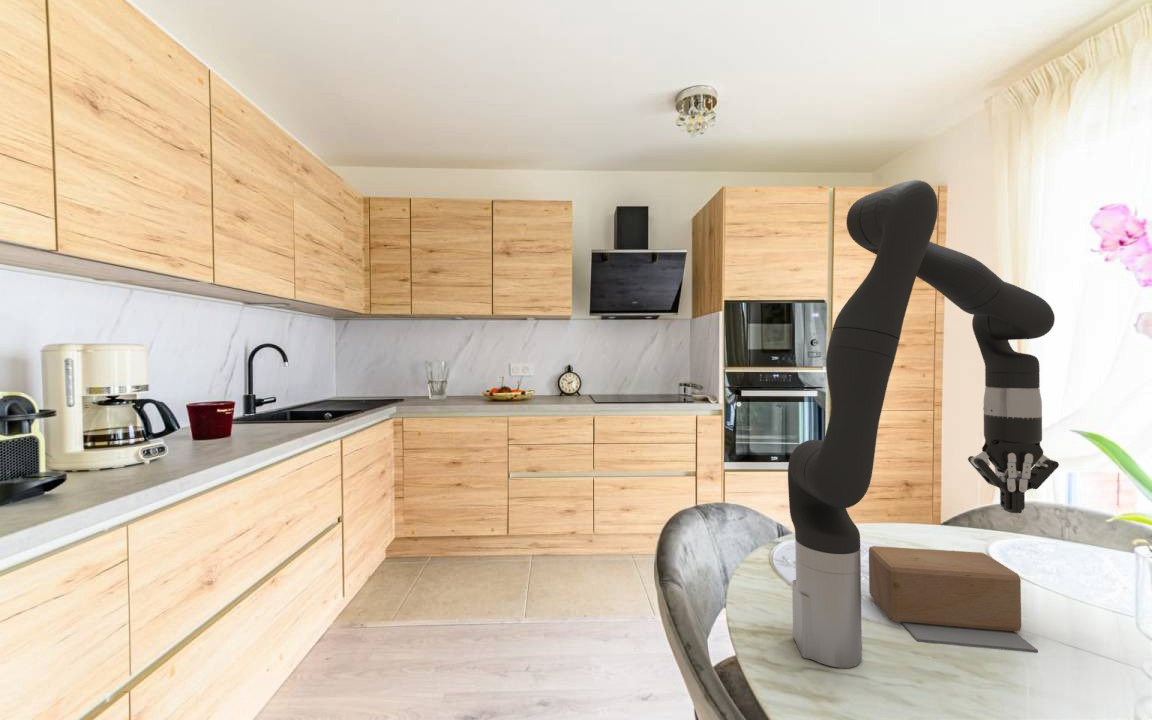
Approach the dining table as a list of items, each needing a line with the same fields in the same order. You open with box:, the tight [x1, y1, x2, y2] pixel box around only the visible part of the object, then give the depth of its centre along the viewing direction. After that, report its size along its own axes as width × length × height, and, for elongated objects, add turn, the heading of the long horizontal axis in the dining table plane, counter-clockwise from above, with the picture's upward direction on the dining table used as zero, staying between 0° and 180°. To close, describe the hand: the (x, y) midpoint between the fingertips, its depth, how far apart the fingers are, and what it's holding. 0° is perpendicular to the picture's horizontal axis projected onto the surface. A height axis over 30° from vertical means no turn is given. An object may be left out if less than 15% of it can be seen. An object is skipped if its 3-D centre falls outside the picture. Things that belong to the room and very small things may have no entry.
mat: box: [900, 621, 1039, 653], centre depth 84 cm, size 17×18×1 cm
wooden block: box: [868, 545, 1022, 633], centre depth 85 cm, size 10×10×20 cm
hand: (1012, 511), depth 82 cm, fingers closed
